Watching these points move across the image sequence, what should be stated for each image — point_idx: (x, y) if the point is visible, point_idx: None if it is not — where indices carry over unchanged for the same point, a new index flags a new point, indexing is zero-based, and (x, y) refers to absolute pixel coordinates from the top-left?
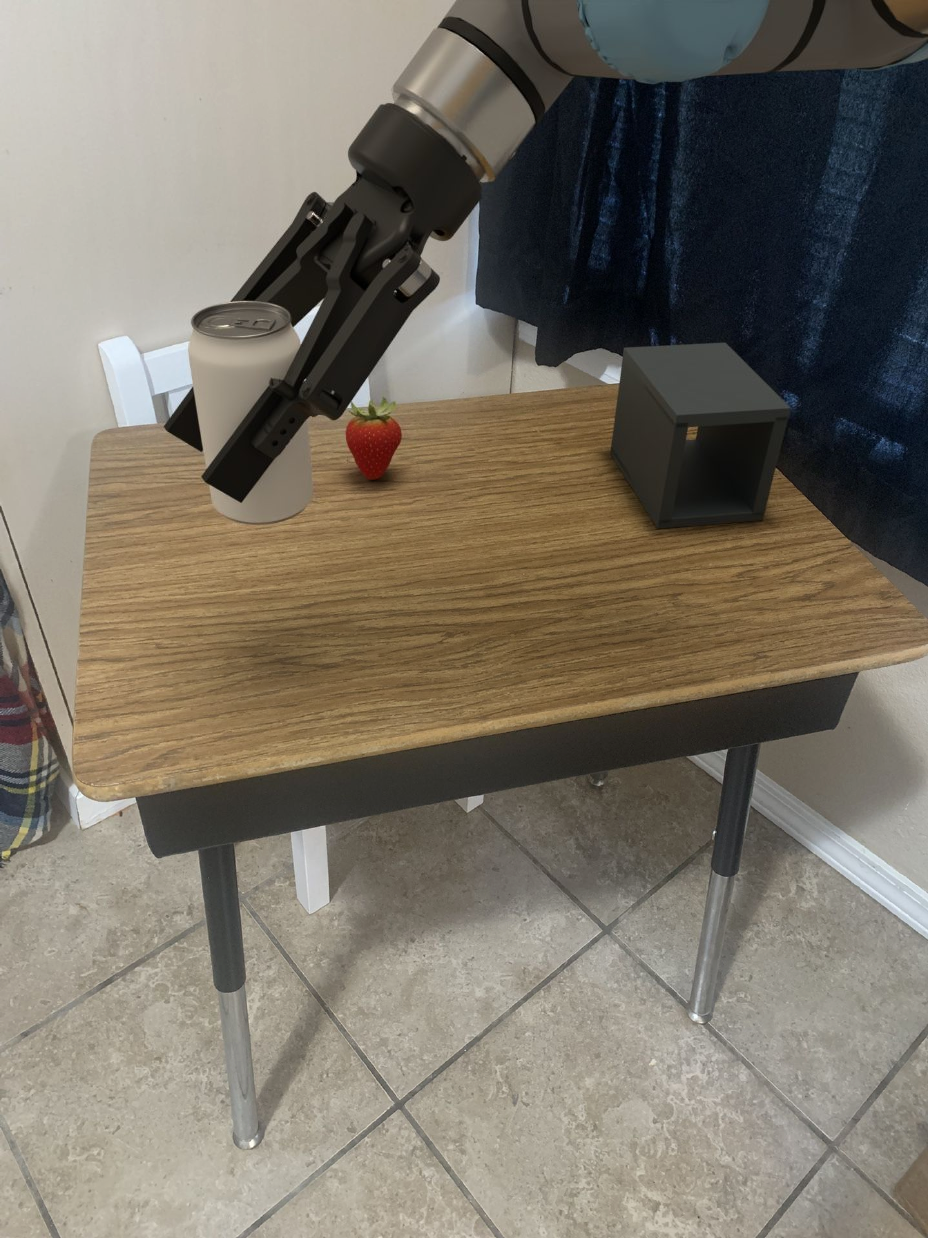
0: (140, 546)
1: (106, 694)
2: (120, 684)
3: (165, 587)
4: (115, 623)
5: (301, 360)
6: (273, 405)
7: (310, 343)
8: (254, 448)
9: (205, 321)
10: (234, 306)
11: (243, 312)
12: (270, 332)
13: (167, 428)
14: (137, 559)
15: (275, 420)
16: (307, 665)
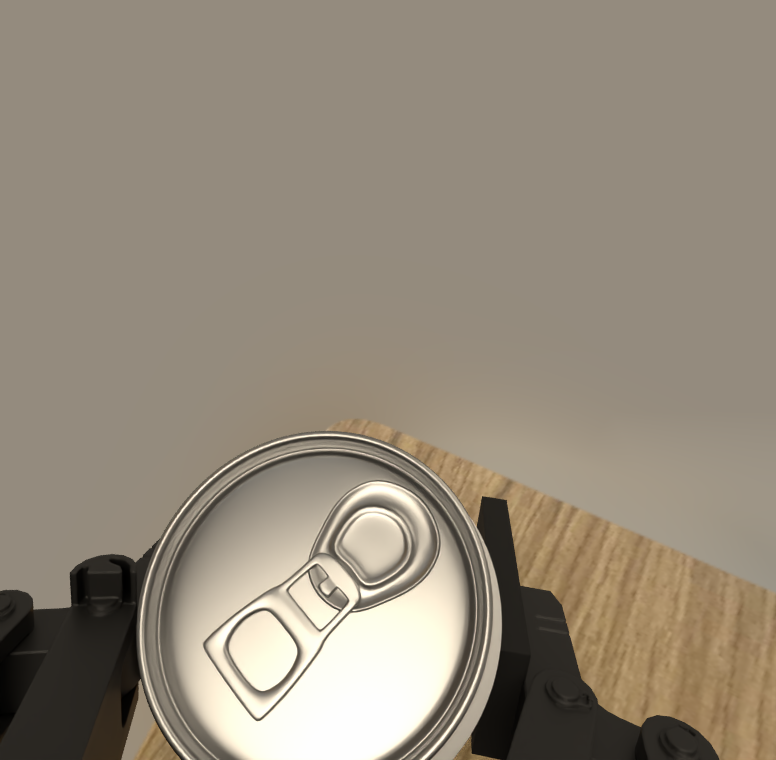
0: (731, 638)
1: (446, 471)
2: (453, 488)
3: (609, 617)
4: (562, 530)
5: (63, 667)
6: None
7: (36, 724)
8: None
9: (413, 507)
10: (473, 658)
11: (410, 660)
12: (141, 606)
13: (487, 498)
14: (696, 618)
15: (141, 567)
16: None
